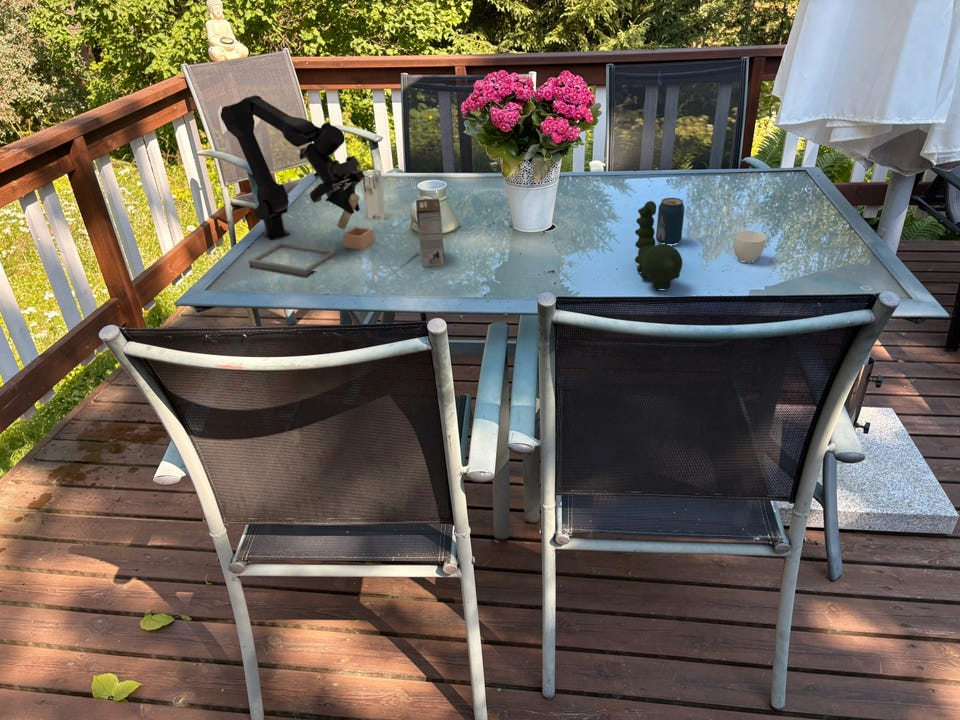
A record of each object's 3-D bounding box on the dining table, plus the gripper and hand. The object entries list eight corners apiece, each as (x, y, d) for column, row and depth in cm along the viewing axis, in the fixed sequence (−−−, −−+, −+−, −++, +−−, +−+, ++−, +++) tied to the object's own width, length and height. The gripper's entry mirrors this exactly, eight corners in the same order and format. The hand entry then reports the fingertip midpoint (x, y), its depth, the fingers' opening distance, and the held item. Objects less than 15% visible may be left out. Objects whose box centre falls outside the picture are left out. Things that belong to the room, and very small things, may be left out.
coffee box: (421, 254, 199) (415, 199, 191) (443, 252, 200) (439, 197, 191) (421, 267, 191) (416, 210, 183) (445, 265, 192) (440, 208, 183)
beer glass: (383, 223, 222) (377, 176, 214) (362, 222, 223) (355, 175, 216) (390, 215, 228) (384, 169, 220) (369, 214, 229) (363, 169, 221)
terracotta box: (345, 250, 204) (342, 234, 202) (357, 242, 209) (355, 226, 206) (363, 253, 202) (360, 236, 199) (374, 245, 207) (372, 229, 204)
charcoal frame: (249, 267, 197) (248, 260, 196) (282, 248, 208) (280, 242, 207) (306, 277, 189) (305, 270, 188) (337, 257, 200) (336, 251, 199)
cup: (734, 266, 183) (738, 241, 179) (726, 250, 191) (729, 227, 188) (765, 265, 182) (769, 241, 179) (755, 250, 191) (759, 227, 187)
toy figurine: (624, 267, 189) (650, 301, 167) (627, 197, 181) (655, 223, 158) (658, 265, 190) (689, 298, 167) (663, 195, 181) (696, 220, 159)
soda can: (683, 239, 200) (687, 198, 193) (678, 248, 194) (682, 206, 188) (658, 236, 202) (662, 195, 196) (653, 245, 197) (656, 204, 191)
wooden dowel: (335, 227, 199) (337, 190, 193) (340, 225, 201) (342, 188, 195) (353, 234, 197) (356, 197, 191) (358, 232, 199) (361, 194, 193)
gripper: (318, 154, 181) (353, 205, 183) (360, 141, 196) (392, 188, 198) (294, 177, 188) (328, 226, 190) (336, 163, 202) (368, 208, 204)
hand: (355, 212), depth 195 cm, fingers closed on wooden dowel, 2 cm apart
